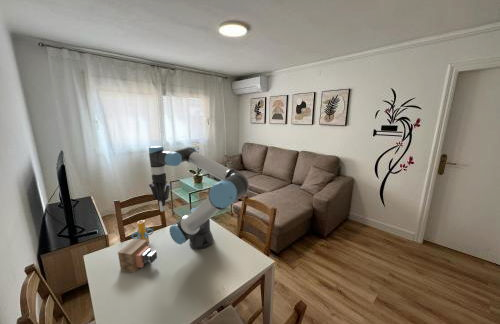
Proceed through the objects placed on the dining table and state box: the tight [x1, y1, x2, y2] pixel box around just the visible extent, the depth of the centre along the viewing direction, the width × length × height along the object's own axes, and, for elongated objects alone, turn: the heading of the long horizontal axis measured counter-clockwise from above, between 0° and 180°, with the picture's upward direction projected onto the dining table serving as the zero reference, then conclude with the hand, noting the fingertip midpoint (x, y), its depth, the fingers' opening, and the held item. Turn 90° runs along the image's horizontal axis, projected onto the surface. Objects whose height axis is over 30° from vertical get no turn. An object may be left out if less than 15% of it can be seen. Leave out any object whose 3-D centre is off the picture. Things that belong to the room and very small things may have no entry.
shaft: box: [142, 248, 158, 264], centre depth 110 cm, size 18×5×5 cm, turn 79°
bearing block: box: [117, 239, 149, 273], centre depth 111 cm, size 8×12×11 cm, turn 169°
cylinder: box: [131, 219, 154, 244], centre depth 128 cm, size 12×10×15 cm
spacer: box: [135, 245, 151, 268], centre depth 110 cm, size 3×8×8 cm, turn 169°
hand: (162, 210), depth 121 cm, fingers closed
